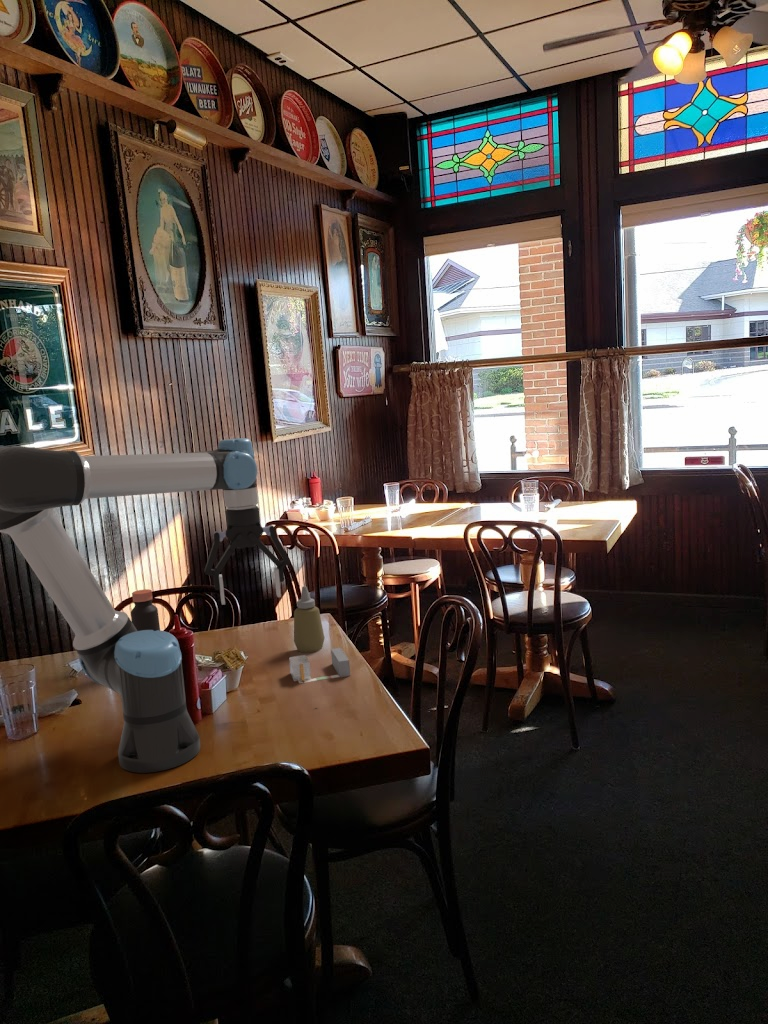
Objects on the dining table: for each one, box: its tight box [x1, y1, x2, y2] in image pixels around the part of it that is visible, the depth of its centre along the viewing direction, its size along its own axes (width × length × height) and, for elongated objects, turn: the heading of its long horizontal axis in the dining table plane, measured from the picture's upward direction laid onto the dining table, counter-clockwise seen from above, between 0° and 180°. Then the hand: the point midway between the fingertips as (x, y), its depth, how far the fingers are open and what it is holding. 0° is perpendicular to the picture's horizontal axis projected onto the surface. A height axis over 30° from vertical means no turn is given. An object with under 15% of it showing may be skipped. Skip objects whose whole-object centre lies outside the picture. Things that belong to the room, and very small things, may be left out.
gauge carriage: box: [288, 654, 312, 682], centre depth 179 cm, size 7×4×4 cm, turn 15°
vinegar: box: [130, 588, 161, 631], centre depth 199 cm, size 7×7×20 cm
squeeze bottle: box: [293, 586, 325, 653], centre depth 200 cm, size 8×8×18 cm
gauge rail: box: [297, 647, 351, 684], centre depth 181 cm, size 10×15×5 cm, turn 105°
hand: (251, 599), depth 175 cm, fingers open, 12 cm apart
